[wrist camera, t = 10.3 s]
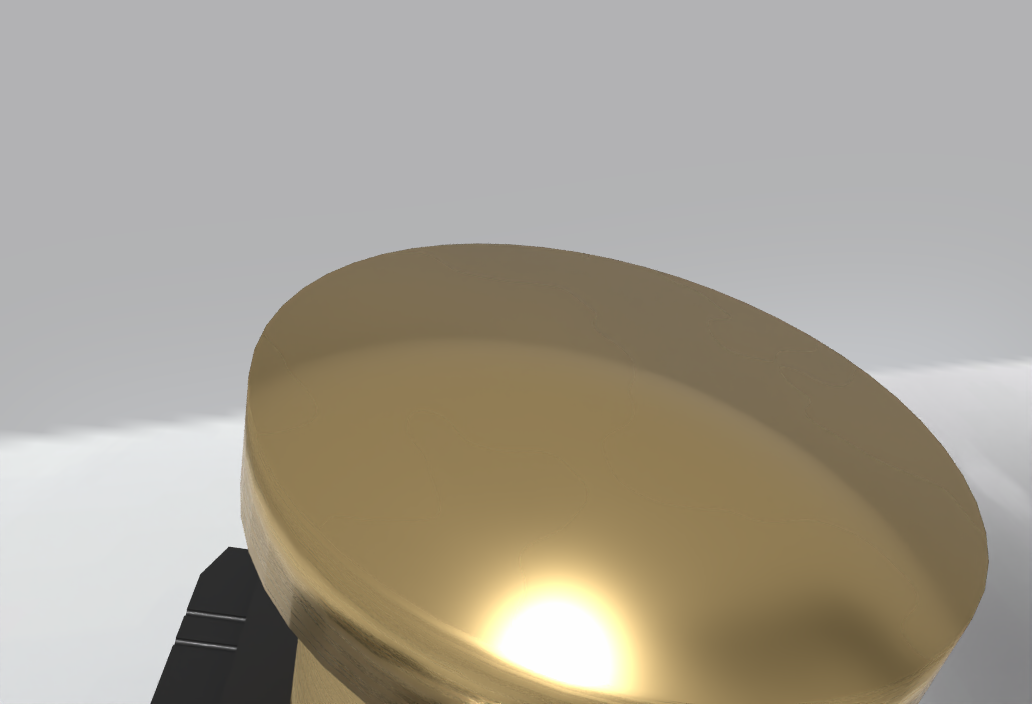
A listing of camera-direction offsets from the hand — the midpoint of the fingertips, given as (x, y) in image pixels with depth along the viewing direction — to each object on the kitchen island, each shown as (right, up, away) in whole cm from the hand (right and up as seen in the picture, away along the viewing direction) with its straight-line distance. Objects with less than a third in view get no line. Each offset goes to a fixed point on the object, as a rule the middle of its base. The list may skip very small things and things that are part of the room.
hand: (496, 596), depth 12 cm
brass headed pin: (-1, -7, +1) cm, 7 cm away
